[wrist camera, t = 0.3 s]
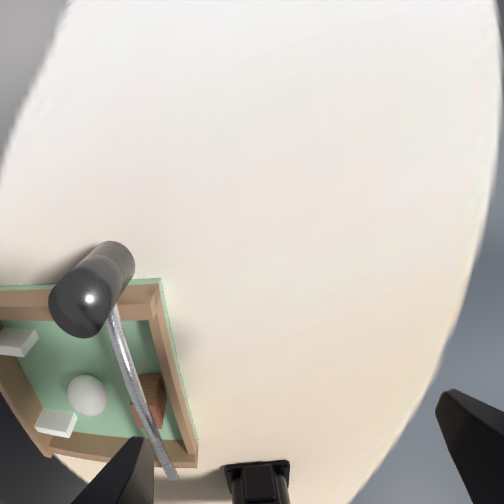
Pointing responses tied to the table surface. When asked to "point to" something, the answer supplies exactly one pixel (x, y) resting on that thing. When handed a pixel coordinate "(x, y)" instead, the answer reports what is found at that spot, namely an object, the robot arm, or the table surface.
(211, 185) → the table surface
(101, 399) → the ball
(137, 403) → the rubber mallet
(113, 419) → the pitch
